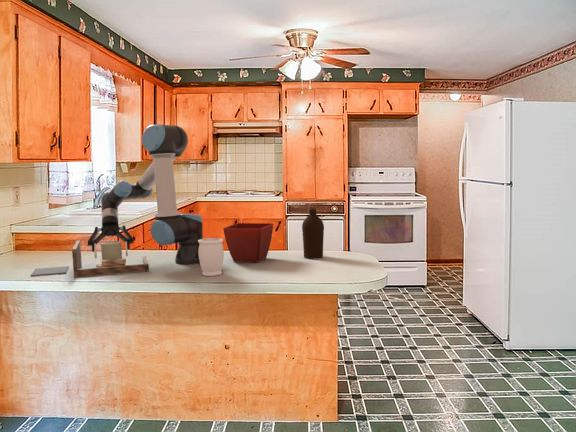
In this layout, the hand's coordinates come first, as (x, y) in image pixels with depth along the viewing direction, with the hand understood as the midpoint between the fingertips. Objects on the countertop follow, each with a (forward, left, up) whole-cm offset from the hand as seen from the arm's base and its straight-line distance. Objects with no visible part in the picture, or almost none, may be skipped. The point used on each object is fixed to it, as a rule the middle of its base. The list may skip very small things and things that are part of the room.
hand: (111, 255), depth 238 cm
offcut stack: (-3, +8, -6) cm, 10 cm away
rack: (-1, +1, -6) cm, 6 cm away
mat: (+25, +8, -6) cm, 27 cm away
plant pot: (-62, -14, -6) cm, 64 cm away
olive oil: (-93, -19, -6) cm, 95 cm away
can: (0, -1, -6) cm, 6 cm away
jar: (-49, +16, -6) cm, 52 cm away
